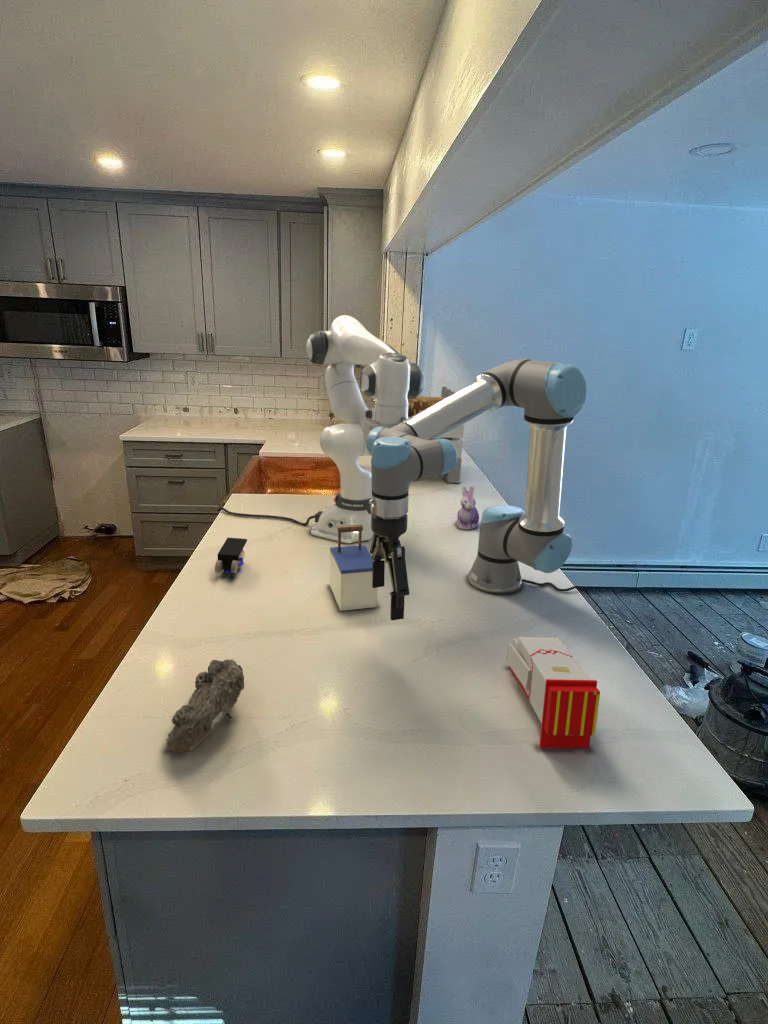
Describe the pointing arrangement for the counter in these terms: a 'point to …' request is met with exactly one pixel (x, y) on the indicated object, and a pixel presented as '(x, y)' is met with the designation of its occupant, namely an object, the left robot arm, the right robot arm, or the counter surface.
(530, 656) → the toy
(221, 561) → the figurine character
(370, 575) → the chest
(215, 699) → the fossil
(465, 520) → the figurine
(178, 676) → the counter surface
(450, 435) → the transformer
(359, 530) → the lid
